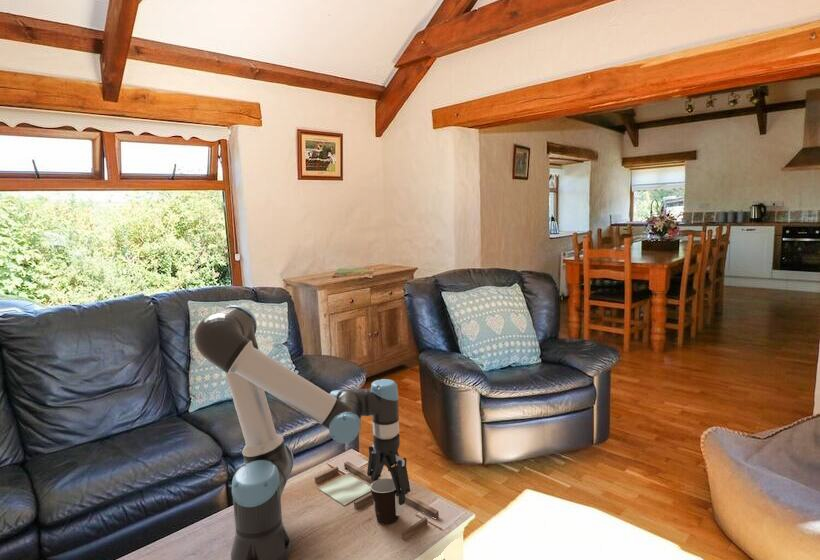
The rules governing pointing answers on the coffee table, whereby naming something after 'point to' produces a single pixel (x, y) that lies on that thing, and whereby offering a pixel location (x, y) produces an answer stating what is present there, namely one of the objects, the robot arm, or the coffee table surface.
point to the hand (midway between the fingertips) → (388, 506)
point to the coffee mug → (384, 500)
